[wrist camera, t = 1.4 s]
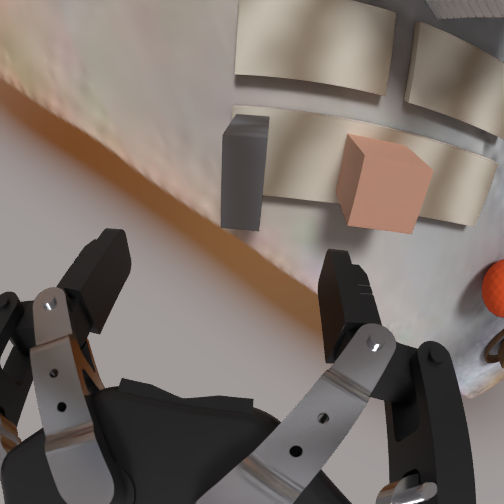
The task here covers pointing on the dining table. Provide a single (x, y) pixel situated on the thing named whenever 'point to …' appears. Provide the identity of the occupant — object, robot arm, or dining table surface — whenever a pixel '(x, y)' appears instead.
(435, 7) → the light grey block
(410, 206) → the terracotta block
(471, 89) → the broken strip
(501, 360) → the brown cup and saucer
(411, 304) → the dining table surface
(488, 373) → the dining table surface
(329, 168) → the unbroken strip
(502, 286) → the clementine
